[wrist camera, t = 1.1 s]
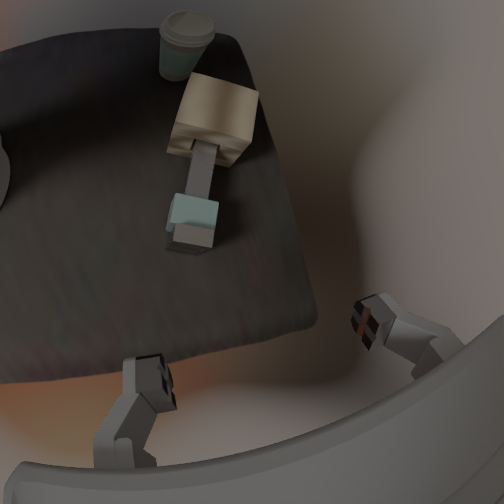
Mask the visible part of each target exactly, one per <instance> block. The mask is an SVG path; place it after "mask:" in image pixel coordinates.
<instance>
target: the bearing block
mask: <svg viewBox="0 0 504 504" xmlns="http://www.w3.org/2000/svg"><path fill="white" fill-rule="evenodd" d="M258 95H259V92H258V91H255V90H252V89H249V88H246V87H243V86H240V85H237V84H233V83H230V82H227V81H223V80H220V79H217V78H213V77H209V76H206V75H202V74H198V73H194V72H192V73H191V75H190V78H189V81H188V84H187V87H186V89H185V92H184V95H183V98H182V101H181V104H180V107H179V110H178V114H177V117H176V120H175V123H174V127H173V130H172V134H171V137H170V141H169V144H168V148H167V152H166V153H170V154H174V155H179V156H183V157H188V158H190V156H191V152H192V148H193V144H194V140H195V139H198V140H202V141H206V142H210V143H214V144H218V147H217V152H216V157H215V162H214V164H217V165H221V166H225V167H229V168H230V167H231V165H232V164H233V163H234V162H235V161H236V159H237V158H238V157H239V156H240V155H241V154H242V152H243V151H244V150H245V149H246V148H247V147H248V146H249V144H250V143H251V142H252V136H253V129H254V122H255V115H256V109H257V102H258Z"/></svg>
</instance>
